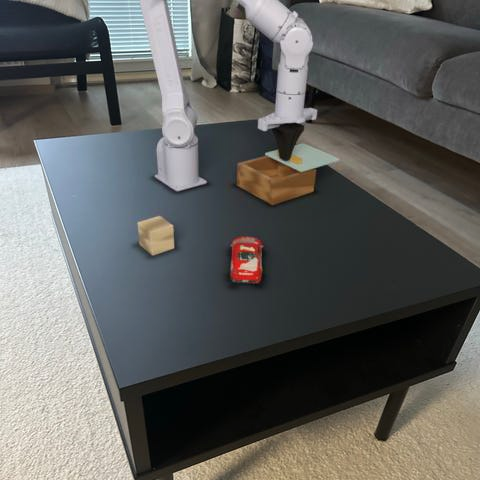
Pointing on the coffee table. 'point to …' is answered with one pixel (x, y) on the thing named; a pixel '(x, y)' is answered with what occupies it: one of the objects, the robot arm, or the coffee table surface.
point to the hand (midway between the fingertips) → (284, 158)
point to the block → (156, 235)
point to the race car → (246, 260)
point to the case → (274, 180)
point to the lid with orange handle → (304, 158)
